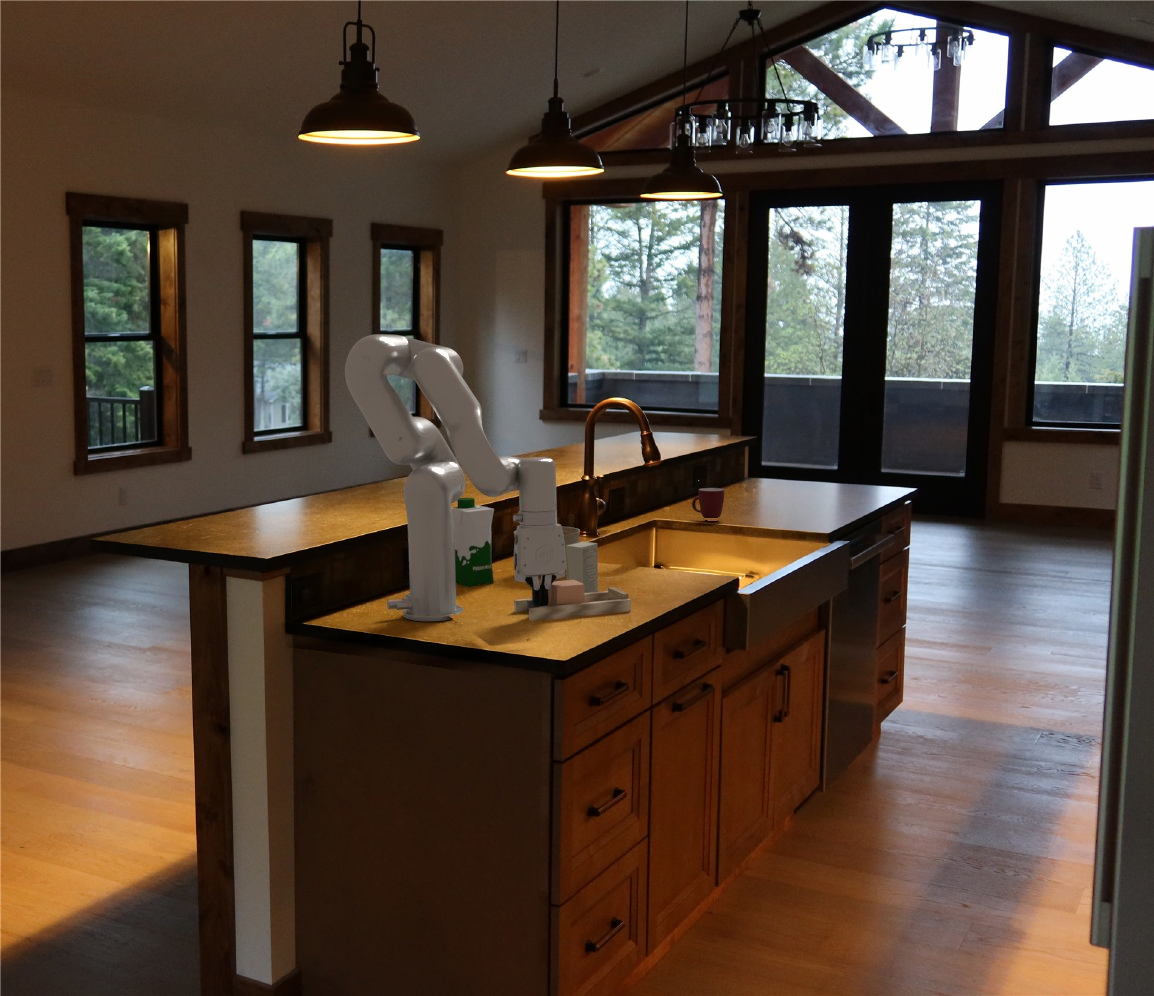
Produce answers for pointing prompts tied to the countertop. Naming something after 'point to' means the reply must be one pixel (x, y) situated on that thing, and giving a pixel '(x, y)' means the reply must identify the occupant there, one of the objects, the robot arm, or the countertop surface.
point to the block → (566, 592)
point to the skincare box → (583, 564)
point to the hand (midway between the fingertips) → (540, 607)
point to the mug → (710, 502)
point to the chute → (578, 606)
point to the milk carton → (472, 543)
